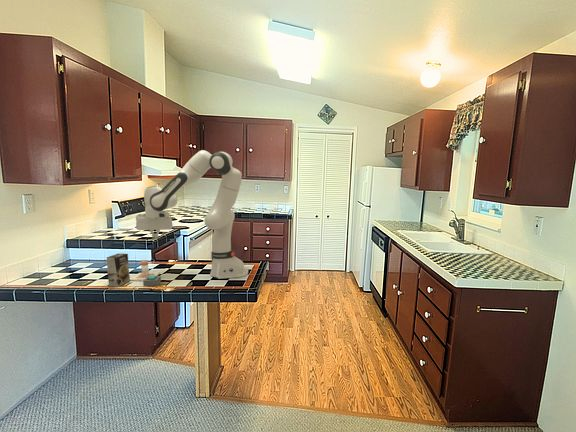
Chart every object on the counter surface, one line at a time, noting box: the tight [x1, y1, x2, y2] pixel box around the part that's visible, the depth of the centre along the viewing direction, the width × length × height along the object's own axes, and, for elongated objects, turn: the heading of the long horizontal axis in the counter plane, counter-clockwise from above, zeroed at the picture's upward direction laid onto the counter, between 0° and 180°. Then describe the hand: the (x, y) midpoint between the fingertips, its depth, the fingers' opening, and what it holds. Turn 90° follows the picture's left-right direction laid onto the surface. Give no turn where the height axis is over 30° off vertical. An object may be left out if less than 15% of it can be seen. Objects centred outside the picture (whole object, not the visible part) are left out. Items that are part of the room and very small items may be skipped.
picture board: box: [130, 272, 161, 282], centre depth 182 cm, size 12×12×1 cm
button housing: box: [142, 275, 162, 287], centre depth 171 cm, size 7×7×3 cm
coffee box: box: [106, 253, 131, 288], centre depth 171 cm, size 9×6×16 cm
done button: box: [148, 275, 156, 280], centre depth 171 cm, size 4×4×2 cm
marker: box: [140, 259, 150, 277], centre depth 181 cm, size 4×4×9 cm
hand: (155, 237), depth 185 cm, fingers closed
